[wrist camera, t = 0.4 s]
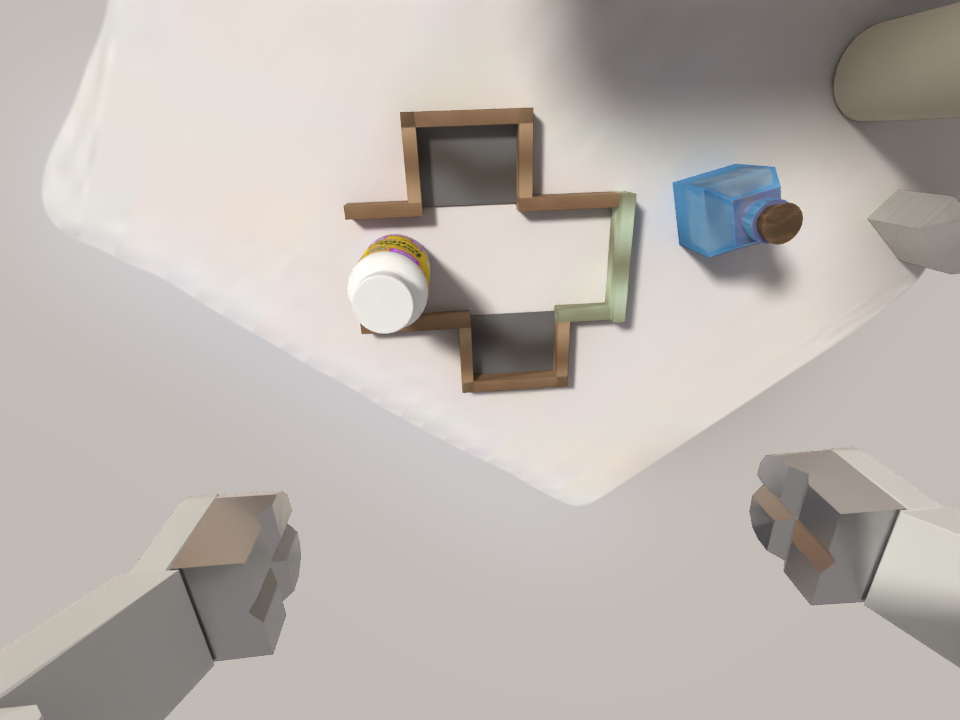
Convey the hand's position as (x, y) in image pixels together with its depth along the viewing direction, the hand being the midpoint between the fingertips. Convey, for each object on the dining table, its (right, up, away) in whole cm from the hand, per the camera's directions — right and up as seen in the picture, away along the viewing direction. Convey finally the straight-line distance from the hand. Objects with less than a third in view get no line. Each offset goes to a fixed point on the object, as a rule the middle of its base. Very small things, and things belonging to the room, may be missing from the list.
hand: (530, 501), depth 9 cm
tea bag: (+43, +16, +43) cm, 63 cm away
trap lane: (+1, +12, +41) cm, 43 cm away
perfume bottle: (+22, +18, +41) cm, 50 cm away
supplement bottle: (-9, +12, +41) cm, 44 cm away
